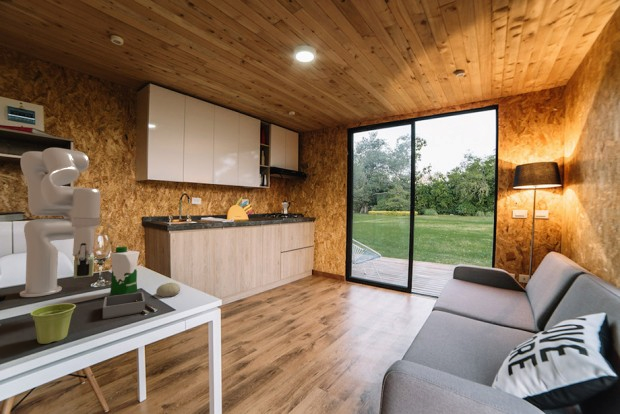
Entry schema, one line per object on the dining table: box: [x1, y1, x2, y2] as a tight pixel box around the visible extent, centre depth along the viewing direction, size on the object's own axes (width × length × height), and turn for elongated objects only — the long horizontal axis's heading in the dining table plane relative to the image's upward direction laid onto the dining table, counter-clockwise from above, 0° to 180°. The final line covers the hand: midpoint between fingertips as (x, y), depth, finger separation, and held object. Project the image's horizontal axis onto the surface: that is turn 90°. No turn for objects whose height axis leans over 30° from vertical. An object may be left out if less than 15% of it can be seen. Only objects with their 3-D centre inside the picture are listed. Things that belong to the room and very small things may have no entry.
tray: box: [102, 291, 146, 320], centre depth 99 cm, size 12×12×4 cm
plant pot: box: [30, 302, 77, 345], centre depth 77 cm, size 9×9×9 cm
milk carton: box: [109, 246, 140, 296], centre depth 117 cm, size 9×9×20 cm
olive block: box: [73, 256, 95, 279], centre depth 95 cm, size 5×5×6 cm
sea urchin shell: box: [156, 282, 181, 298], centre depth 117 cm, size 9×8×8 cm
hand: (83, 273), depth 95 cm, fingers closed on olive block, 5 cm apart
